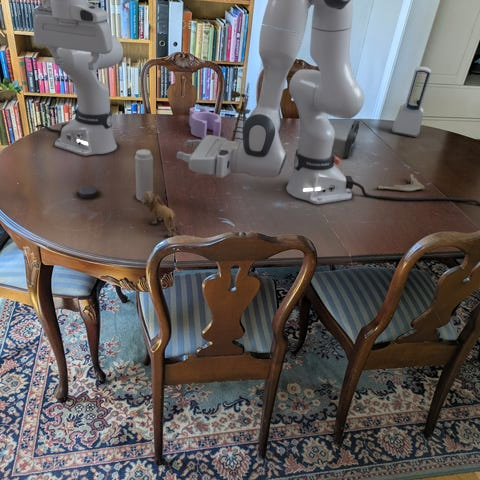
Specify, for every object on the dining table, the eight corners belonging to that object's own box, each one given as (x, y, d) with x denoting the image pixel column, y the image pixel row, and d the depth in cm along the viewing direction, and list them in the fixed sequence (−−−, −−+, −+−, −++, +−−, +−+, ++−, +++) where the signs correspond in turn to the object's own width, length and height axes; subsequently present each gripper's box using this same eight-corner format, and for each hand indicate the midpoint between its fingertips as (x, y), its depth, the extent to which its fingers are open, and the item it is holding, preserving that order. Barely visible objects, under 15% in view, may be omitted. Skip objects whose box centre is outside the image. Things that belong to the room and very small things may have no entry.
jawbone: (429, 189, 172) (431, 184, 171) (394, 201, 161) (396, 196, 160) (410, 177, 177) (412, 172, 176) (375, 189, 167) (376, 184, 165)
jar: (138, 192, 148) (137, 147, 140) (154, 194, 148) (154, 149, 140) (134, 200, 144) (132, 154, 136) (151, 202, 144) (150, 156, 136)
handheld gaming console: (349, 160, 187) (354, 136, 182) (342, 158, 188) (347, 134, 183) (355, 142, 206) (361, 119, 201) (349, 140, 207) (354, 118, 201)
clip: (182, 123, 206) (183, 107, 202) (209, 122, 210) (210, 106, 207) (197, 140, 191) (197, 123, 187) (225, 138, 195) (226, 122, 191)
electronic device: (418, 133, 224) (438, 69, 207) (417, 138, 218) (438, 72, 201) (391, 128, 226) (409, 64, 210) (390, 133, 220) (409, 67, 204)
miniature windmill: (245, 170, 170) (254, 87, 153) (222, 166, 171) (229, 83, 154) (250, 161, 177) (258, 80, 161) (228, 157, 178) (235, 77, 162)
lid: (91, 200, 142) (91, 195, 141) (74, 196, 142) (73, 191, 142) (101, 192, 146) (100, 187, 145) (84, 188, 147) (83, 184, 146)
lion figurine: (138, 219, 134) (138, 191, 130) (153, 213, 138) (152, 186, 133) (173, 240, 127) (174, 211, 122) (187, 233, 131) (188, 205, 126)
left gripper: (24, 5, 115) (32, 64, 122) (102, 16, 113) (106, 74, 120) (38, 3, 120) (45, 59, 128) (113, 13, 118) (116, 69, 125)
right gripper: (236, 133, 141) (192, 126, 142) (221, 159, 124) (171, 150, 125) (234, 153, 144) (191, 146, 146) (220, 180, 127) (171, 172, 129)
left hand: (75, 67), depth 124 cm, fingers open, 8 cm apart
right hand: (182, 148), depth 135 cm, fingers open, 8 cm apart
